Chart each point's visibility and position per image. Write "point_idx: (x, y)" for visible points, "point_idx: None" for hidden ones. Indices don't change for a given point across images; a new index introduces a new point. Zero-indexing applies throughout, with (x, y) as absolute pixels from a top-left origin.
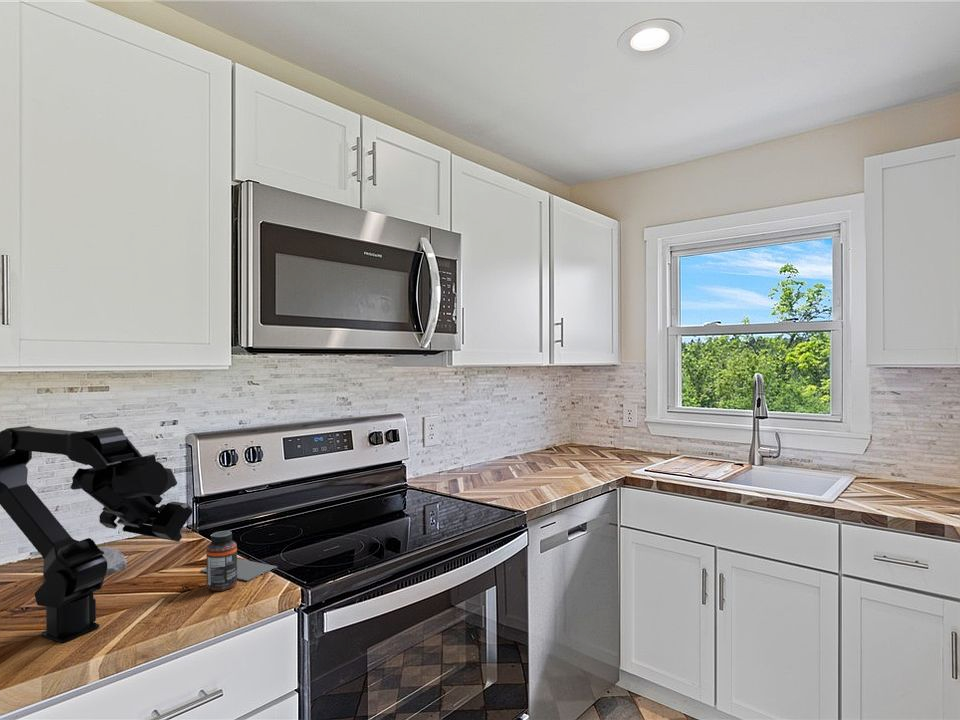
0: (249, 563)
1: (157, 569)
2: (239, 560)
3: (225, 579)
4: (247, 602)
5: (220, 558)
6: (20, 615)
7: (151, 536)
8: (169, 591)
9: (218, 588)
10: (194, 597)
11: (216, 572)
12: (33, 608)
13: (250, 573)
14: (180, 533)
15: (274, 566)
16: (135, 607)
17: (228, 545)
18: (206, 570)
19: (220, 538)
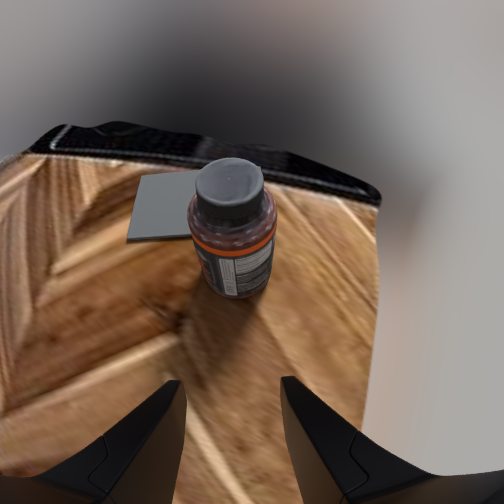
0: (196, 177)
1: (45, 268)
2: (165, 177)
3: (268, 270)
4: (363, 300)
5: (264, 248)
6: None
7: (172, 493)
8: (146, 342)
9: (257, 291)
10: (232, 341)
11: (254, 275)
12: (7, 475)
13: None
14: (308, 389)
15: None
16: None
17: (267, 204)
18: (139, 233)
19: (253, 201)
